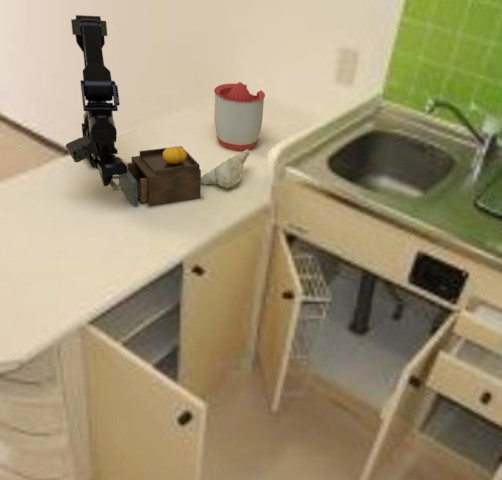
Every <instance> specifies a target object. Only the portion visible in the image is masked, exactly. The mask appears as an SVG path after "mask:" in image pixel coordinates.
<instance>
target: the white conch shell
mask: <svg viewBox="0 0 502 480" xmlns="http://www.w3.org/2000/svg"><path fill="white" fill-rule="evenodd" d="M250 153H251V152H250V151H249V149H247V150H242V151H241V152H240V153H238V154H236V155H234V156H232V157H229V158H228V159H226V160H225V161H223V162H221V163H220V164H219V165H217V166H215V167H214V168H213V169H212V170H209V171H208V172H206V173H205V174H203V175H201V184H203V185H206V186H207V185H208V184H210V185H211V184H212V185H219V186H220V187H223V188H226V189H229V188H231V187H235V186H236V185H237V184H238V183H239V182H240V181H242V171H243V169H244V164H245V162H246V161H247V158H248V157H249V156H250Z"/></svg>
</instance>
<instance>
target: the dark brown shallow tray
mask: <svg viewBox="0 0 502 480" xmlns="http://www.w3.org/2000/svg"><path fill="white" fill-rule="evenodd" d="M178 146H179V147H182V148H184V147H183V146H182V145H178ZM166 148H167V147H162V148H154V149H145V150H139V156H140V157H141V158H142V159H143V160H144V162H145V163H146V164H147V165H148V166H149V168H150V169H151V170H152V171H153V172H154V173H155V175H156V176H160V175H167V174H174V173H181V172H188V171H195V170H199V169H200V164H199V162H198V161H196V160H195V158H193V156H192V155H191V154H190V153H189V152H188V151H187V150H186V149H185V151H186V153H187V157H186V160H185V161H184V162H182V163H178V164H168V163H166V162H165V161H164V159H163V152H164V150H165V149H166Z"/></svg>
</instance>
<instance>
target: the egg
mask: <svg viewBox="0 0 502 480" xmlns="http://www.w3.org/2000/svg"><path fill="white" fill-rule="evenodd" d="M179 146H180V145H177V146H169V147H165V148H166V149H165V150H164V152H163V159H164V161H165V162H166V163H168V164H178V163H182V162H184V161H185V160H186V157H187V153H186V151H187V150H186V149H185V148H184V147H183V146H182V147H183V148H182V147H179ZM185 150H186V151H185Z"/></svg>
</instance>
